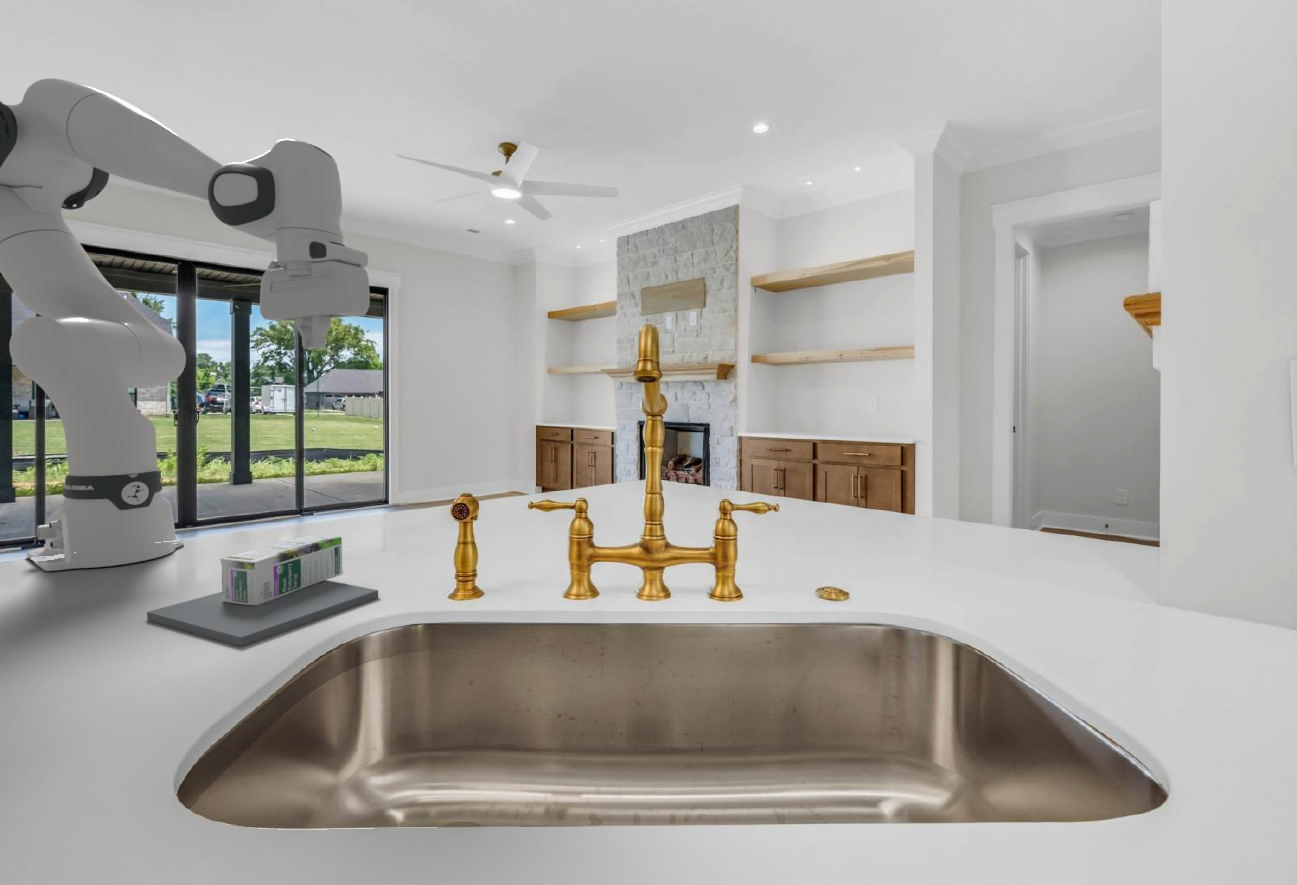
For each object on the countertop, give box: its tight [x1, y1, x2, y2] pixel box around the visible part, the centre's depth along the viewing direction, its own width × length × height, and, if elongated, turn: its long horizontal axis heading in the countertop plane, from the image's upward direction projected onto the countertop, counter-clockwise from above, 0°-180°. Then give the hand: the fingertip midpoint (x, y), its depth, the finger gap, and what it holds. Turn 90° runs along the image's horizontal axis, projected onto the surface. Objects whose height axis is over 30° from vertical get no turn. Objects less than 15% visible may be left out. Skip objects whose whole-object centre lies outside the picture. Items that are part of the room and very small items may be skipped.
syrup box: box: [219, 534, 344, 606], centre depth 83 cm, size 6×6×14 cm
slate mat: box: [146, 579, 379, 648], centre depth 78 cm, size 18×18×1 cm
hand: (314, 348), depth 93 cm, fingers closed
